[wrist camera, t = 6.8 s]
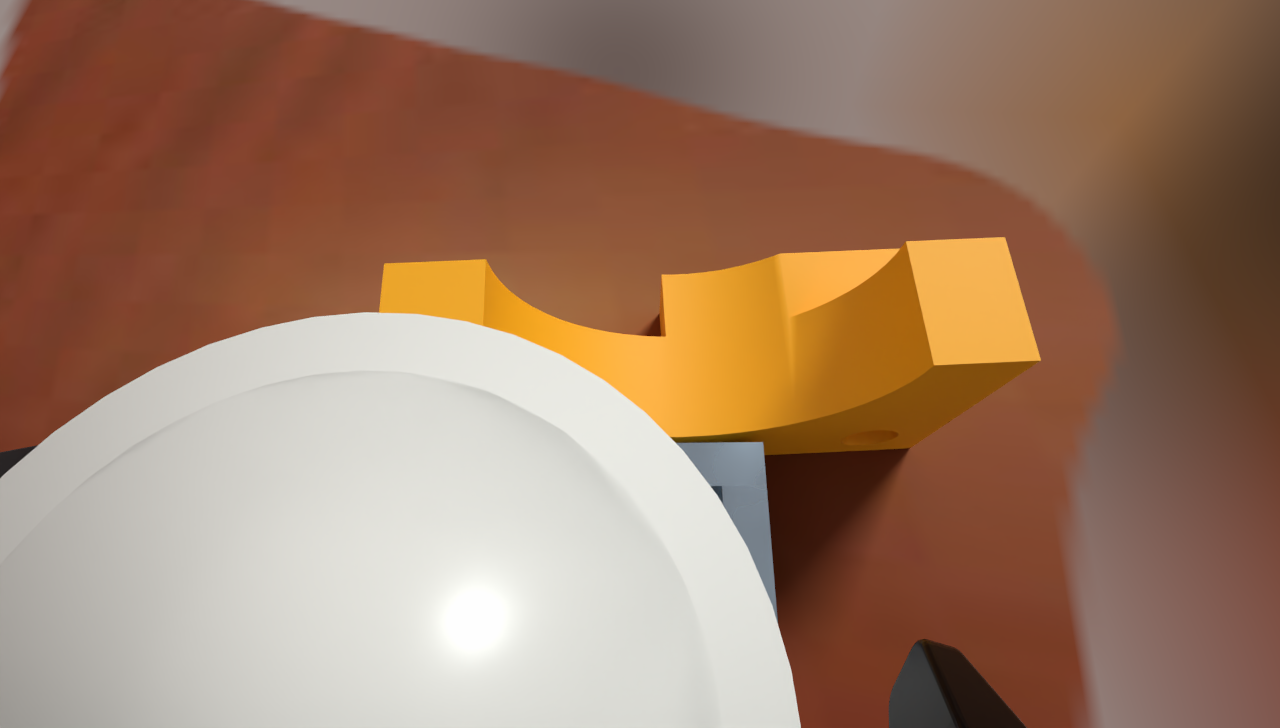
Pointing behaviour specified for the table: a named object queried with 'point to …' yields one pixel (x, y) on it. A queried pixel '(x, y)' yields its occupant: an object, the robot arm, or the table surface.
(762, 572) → the blue-grey square tray
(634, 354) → the pipe clamp
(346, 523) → the white domed pillar
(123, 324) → the table surface
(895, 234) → the table surface
